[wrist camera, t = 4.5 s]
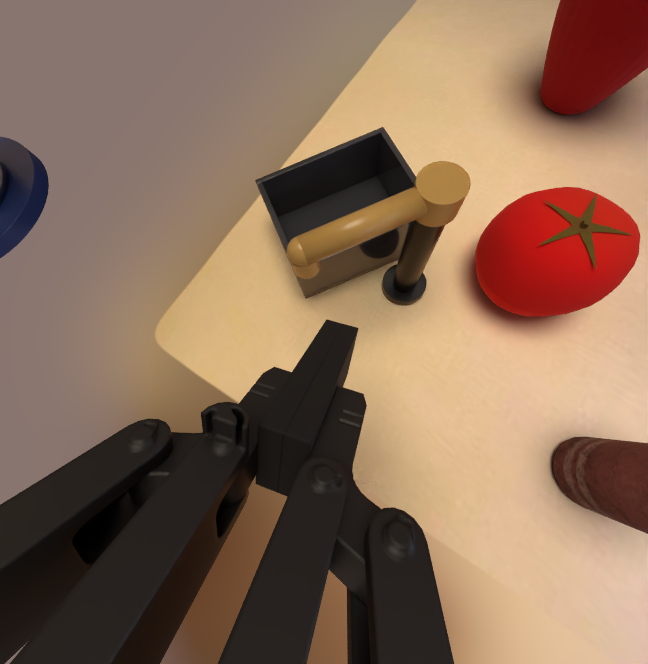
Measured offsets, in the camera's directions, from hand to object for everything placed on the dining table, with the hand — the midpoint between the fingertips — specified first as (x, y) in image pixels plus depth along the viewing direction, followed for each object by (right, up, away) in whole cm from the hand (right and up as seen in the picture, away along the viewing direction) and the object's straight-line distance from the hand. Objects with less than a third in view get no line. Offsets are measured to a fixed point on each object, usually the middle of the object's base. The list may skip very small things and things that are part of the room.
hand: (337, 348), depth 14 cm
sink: (+2, +13, +22) cm, 26 cm away
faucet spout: (+3, +8, +8) cm, 11 cm away
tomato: (+21, +7, +19) cm, 29 cm away
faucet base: (+9, +6, +20) cm, 22 cm away
